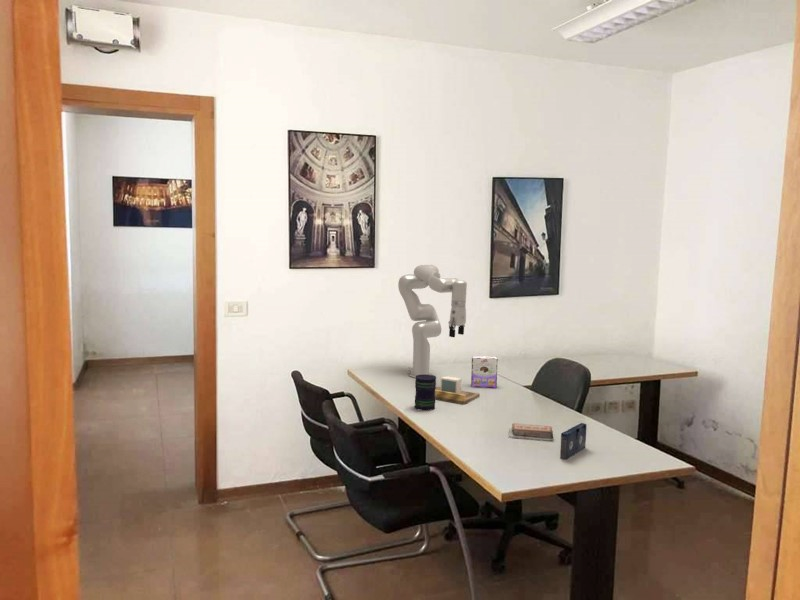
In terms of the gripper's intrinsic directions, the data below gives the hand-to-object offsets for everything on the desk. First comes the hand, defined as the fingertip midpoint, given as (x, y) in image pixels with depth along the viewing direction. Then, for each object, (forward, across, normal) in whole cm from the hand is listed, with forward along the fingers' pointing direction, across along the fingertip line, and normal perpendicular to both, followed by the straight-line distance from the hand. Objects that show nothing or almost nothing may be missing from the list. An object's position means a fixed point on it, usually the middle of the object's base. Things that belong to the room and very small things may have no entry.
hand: (456, 335), depth 344 cm
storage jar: (+28, -43, -8) cm, 52 cm away
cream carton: (+26, -18, -8) cm, 33 cm away
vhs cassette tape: (+25, -61, -86) cm, 108 cm away
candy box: (+28, +12, -12) cm, 33 cm away
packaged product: (+26, -52, -65) cm, 87 cm away
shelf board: (+28, -18, -8) cm, 34 cm away
